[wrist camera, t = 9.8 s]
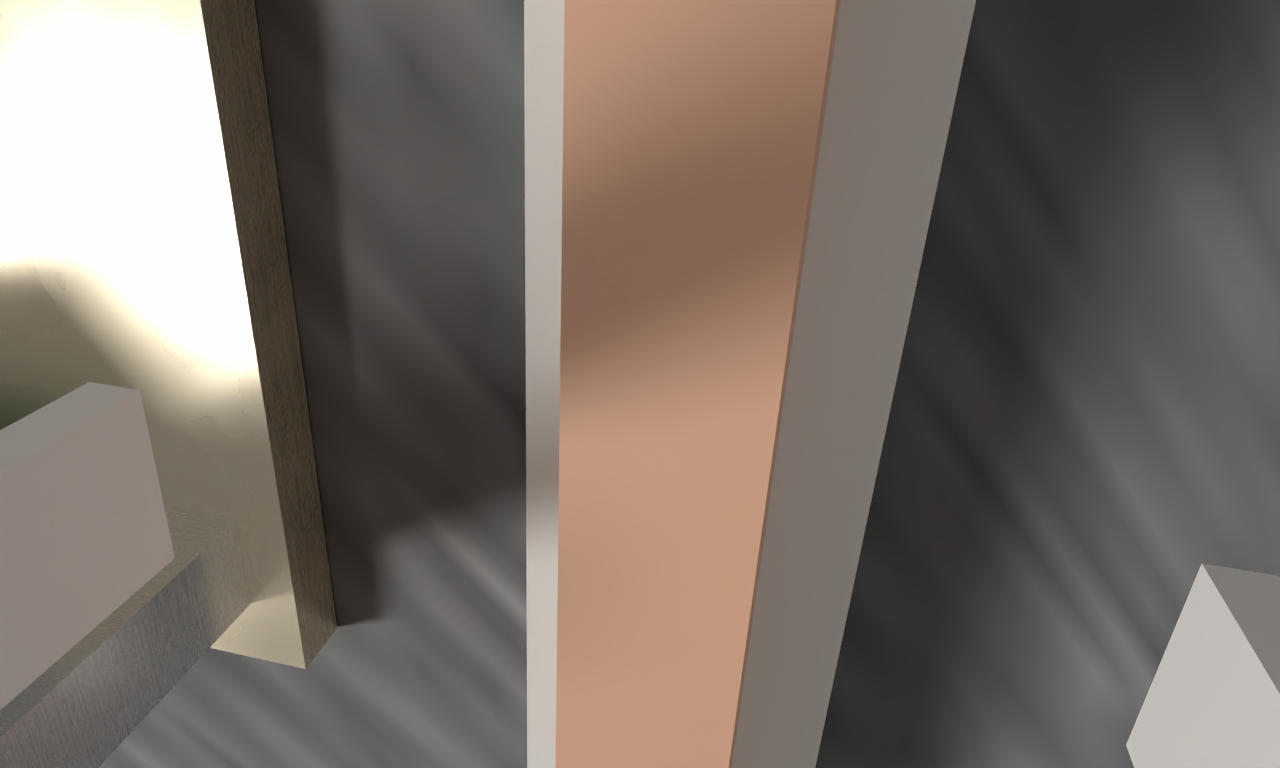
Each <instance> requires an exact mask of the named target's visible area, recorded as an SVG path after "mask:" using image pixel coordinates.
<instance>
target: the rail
mask: <svg viewBox="0 0 1280 768" xmlns="http://www.w3.org/2000/svg"><path fill="white" fill-rule="evenodd" d="M840 4H841V0H565V7H564V92H563V176H562V260H561V344H560V429H559V513H558V597H557V681H556V766H555V768H732V762H733V755H734V748H735V741H736V734H737V727H738V720H739V713H740V706H741V699H742V692H743V685H744V678H745V671H746V664H747V657H748V650H749V643H750V636H751V629H752V622H753V615H754V608H755V600H756V593H757V586H758V579H759V572H760V565H761V558H762V551H763V544H764V537H765V530H766V523H767V516H768V509H769V502H770V495H771V488H772V481H773V474H774V467H775V460H776V453H777V446H778V439H779V432H780V425H781V418H782V411H783V404H784V397H785V390H786V383H787V376H788V369H789V362H790V355H791V348H792V341H793V334H794V327H795V320H796V313H797V306H798V299H799V292H800V285H801V278H802V271H803V264H804V257H805V250H806V242H807V235H808V228H809V221H810V214H811V207H812V200H813V193H814V186H815V179H816V172H817V165H818V158H819V151H820V144H821V137H822V130H823V123H824V116H825V109H826V102H827V95H828V88H829V81H830V74H831V67H832V60H833V53H834V46H835V39H836V32H837V25H838V18H839V11H840Z"/></svg>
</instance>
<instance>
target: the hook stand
mask: <svg viewBox="0 0 1280 768" xmlns="http://www.w3.org/2000/svg"><path fill="white" fill-rule="evenodd" d="M88 382H94V383H100V384H106V385H112V386H118V387H124V388H130V389H136V390H140V394H141V399H142V404H143V408H144V413H145V418H146V423H147V427H148V432H149V437H150V442H151V446H152V451H153V456H154V461H155V465H156V470H157V475H158V480H159V484H160V489H161V494H162V499H163V503H164V508H165V513H166V518H167V523H168V527H169V532H170V537H171V542H172V546H173V551H174V556H175V558H174V559H173V560H172V561H171V562H170V563H168V564H167V565H166V566H165V567H164V568H163V569H162V570H160V571H159V572H158V573H157V574H156V575H155V576H154V577H152V578H151V579H150V580H149V581H148V582H147V583H146V584H144V585H143V586H142V587H141V588H140V589H139V590H138V591H136V592H135V593H134V594H133V595H132V596H131V597H130V598H128V599H127V600H126V601H125V602H124V603H123V604H121V605H120V606H119V607H118V608H117V609H116V610H115V611H113V612H112V613H111V614H110V615H109V616H108V617H107V618H105V619H104V620H103V621H102V622H101V623H100V624H99V625H97V626H96V627H95V628H94V629H93V630H92V631H91V632H89V633H88V634H87V635H86V636H85V637H84V638H83V639H81V640H80V641H79V642H78V643H77V644H76V645H75V646H73V647H72V648H71V649H70V650H69V651H68V652H67V653H65V654H64V655H63V656H62V657H61V658H60V659H58V660H57V661H56V662H55V663H54V664H53V665H52V666H50V667H49V668H48V669H47V670H46V671H45V672H44V673H42V674H41V675H40V676H39V677H38V678H37V679H36V680H34V681H33V682H32V683H31V684H30V685H29V686H28V687H26V688H25V689H24V690H23V691H22V692H21V693H20V694H18V695H17V696H16V697H15V698H14V699H13V700H12V701H10V702H9V703H8V704H7V705H6V706H5V707H3V708H2V709H1V710H0V768H98V767H99V766H100V765H101V764H102V763H103V762H104V761H105V760H106V759H107V758H108V757H109V756H110V754H111V753H112V752H113V751H114V750H115V749H116V748H117V747H118V746H119V745H120V744H121V743H122V742H123V740H124V739H125V738H126V737H127V736H128V735H129V734H130V733H131V732H132V731H133V730H134V729H135V728H136V726H137V725H138V724H139V723H140V722H141V721H142V720H143V719H144V718H145V717H146V716H147V715H148V714H149V713H150V711H151V710H152V709H153V708H154V707H155V706H156V705H157V704H158V703H159V702H160V701H161V700H162V699H163V697H164V696H165V695H166V694H167V693H168V692H169V691H170V690H171V689H172V688H173V687H174V686H175V685H176V683H177V682H178V681H179V680H180V679H181V678H182V677H183V676H184V675H185V674H186V673H187V672H188V671H189V669H190V668H191V667H192V666H193V665H194V664H195V663H196V662H197V661H198V660H199V659H200V658H201V657H202V656H203V654H204V653H205V652H206V651H207V650H208V649H209V648H213V649H218V650H222V651H227V652H231V653H236V654H240V655H245V656H250V657H254V658H259V659H263V660H268V661H272V662H277V663H281V664H286V665H290V666H295V667H299V668H304V669H306V668H307V666H308V665H309V664H310V663H311V661H312V660H313V659H314V657H315V656H316V655H317V653H318V652H319V651H320V650H321V648H322V647H323V646H324V644H325V643H326V642H327V640H328V639H329V638H330V637H331V635H332V634H333V633H334V631H335V630H336V629H337V624H336V616H335V608H334V601H333V593H332V586H331V578H330V571H329V563H328V555H327V548H326V540H325V533H324V525H323V518H322V510H321V502H320V495H319V487H318V480H317V472H316V465H315V457H314V449H313V442H312V434H311V427H310V419H309V412H308V404H307V396H306V389H305V381H304V374H303V366H302V359H301V351H300V343H299V336H298V328H297V321H296V313H295V305H294V298H293V290H292V283H291V275H290V268H289V260H288V252H287V245H286V237H285V230H284V222H283V215H282V207H281V199H280V192H279V184H278V177H277V169H276V162H275V154H274V146H273V139H272V131H271V124H270V116H269V109H268V101H267V93H266V86H265V78H264V71H263V63H262V56H261V48H260V40H259V33H258V25H257V18H256V10H255V3H254V0H0V430H2V429H3V428H5V427H7V426H9V425H11V424H13V423H14V422H16V421H18V420H20V419H22V418H24V417H26V416H27V415H29V414H31V413H33V412H35V411H37V410H38V409H40V408H42V407H44V406H46V405H48V404H50V403H51V402H53V401H55V400H57V399H59V398H61V397H62V396H64V395H66V394H68V393H70V392H72V391H73V390H75V389H77V388H79V387H81V386H83V385H85V384H86V383H88Z"/></svg>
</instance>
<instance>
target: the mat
mask: <svg viewBox="0 0 1280 768" xmlns="http://www.w3.org/2000/svg"><path fill="white" fill-rule="evenodd" d="M975 3H976V0H841V4H840V11H839V18H838V25H837V32H836V39H835V46H834V53H833V60H832V67H831V74H830V81H829V88H828V95H827V102H826V109H825V116H824V123H823V130H822V137H821V144H820V151H819V158H818V165H817V172H816V179H815V186H814V193H813V200H812V207H811V214H810V221H809V228H808V235H807V242H806V250H805V257H804V264H803V271H802V278H801V285H800V292H799V299H798V306H797V313H796V320H795V327H794V334H793V341H792V348H791V355H790V362H789V369H788V376H787V383H786V390H785V397H784V404H783V411H782V418H781V425H780V432H779V439H778V446H777V453H776V460H775V467H774V474H773V481H772V488H771V495H770V502H769V509H768V516H767V523H766V530H765V537H764V544H763V551H762V558H761V565H760V572H759V579H758V586H757V593H756V600H755V608H754V615H753V622H752V629H751V636H750V643H749V650H748V657H747V664H746V671H745V678H744V685H743V692H742V699H741V706H740V713H739V720H738V727H737V734H736V741H735V748H734V755H733V762H732V768H815V767H816V762H817V757H818V752H819V748H820V743H821V738H822V733H823V729H824V724H825V719H826V714H827V709H828V705H829V700H830V695H831V690H832V686H833V681H834V676H835V671H836V666H837V662H838V657H839V652H840V647H841V643H842V638H843V633H844V628H845V624H846V619H847V614H848V609H849V604H850V600H851V595H852V590H853V585H854V581H855V576H856V571H857V566H858V561H859V557H860V552H861V547H862V542H863V538H864V533H865V528H866V523H867V518H868V514H869V509H870V504H871V499H872V495H873V490H874V485H875V480H876V476H877V471H878V466H879V461H880V456H881V452H882V447H883V442H884V437H885V433H886V428H887V423H888V418H889V413H890V409H891V404H892V399H893V394H894V390H895V385H896V380H897V375H898V370H899V366H900V361H901V356H902V351H903V347H904V342H905V337H906V332H907V328H908V323H909V318H910V313H911V308H912V304H913V299H914V294H915V289H916V285H917V280H918V275H919V270H920V265H921V261H922V256H923V251H924V246H925V242H926V237H927V232H928V227H929V222H930V218H931V213H932V208H933V203H934V199H935V194H936V189H937V184H938V180H939V175H940V170H941V165H942V160H943V156H944V151H945V146H946V141H947V137H948V132H949V127H950V122H951V117H952V113H953V108H954V103H955V98H956V94H957V89H958V84H959V79H960V74H961V70H962V65H963V60H964V55H965V51H966V46H967V41H968V36H969V32H970V27H971V22H972V17H973V12H974V8H975ZM564 7H565V0H524V80H525V311H526V541H527V768H555V766H556V681H557V597H558V513H559V429H560V344H561V260H562V176H563V92H564Z"/></svg>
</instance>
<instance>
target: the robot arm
mask: <svg viewBox="0 0 1280 768" xmlns="http://www.w3.org/2000/svg"><path fill="white" fill-rule="evenodd" d="M174 558H175V556H174V551H173V546H172V542H171V537H170V532H169V527H168V523H167V518H166V513H165V508H164V503H163V499H162V494H161V489H160V484H159V480H158V475H157V470H156V465H155V461H154V456H153V451H152V446H151V442H150V437H149V432H148V427H147V423H146V418H145V413H144V408H143V404H142V399H141V394H140V390H136V389H130V388H124V387H118V386H112V385H106V384H100V383H94V382H88V383H86V384H85V385H83V386H81V387H79V388H77V389H75V390H73V391H72V392H70V393H68V394H66V395H64V396H62V397H61V398H59V399H57V400H55V401H53V402H51V403H50V404H48V405H46V406H44V407H42V408H40V409H38V410H37V411H35V412H33V413H31V414H29V415H27V416H26V417H24V418H22V419H20V420H18V421H16V422H14V423H13V424H11V425H9V426H7V427H5V428H3V429H2V430H0V710H1V709H2V708H3V707H5V706H6V705H7V704H8V703H9V702H10V701H12V700H13V699H14V698H15V697H16V696H17V695H18V694H20V693H21V692H22V691H23V690H24V689H25V688H26V687H28V686H29V685H30V684H31V683H32V682H33V681H34V680H36V679H37V678H38V677H39V676H40V675H41V674H42V673H44V672H45V671H46V670H47V669H48V668H49V667H50V666H52V665H53V664H54V663H55V662H56V661H57V660H58V659H60V658H61V657H62V656H63V655H64V654H65V653H67V652H68V651H69V650H70V649H71V648H72V647H73V646H75V645H76V644H77V643H78V642H79V641H80V640H81V639H83V638H84V637H85V636H86V635H87V634H88V633H89V632H91V631H92V630H93V629H94V628H95V627H96V626H97V625H99V624H100V623H101V622H102V621H103V620H104V619H105V618H107V617H108V616H109V615H110V614H111V613H112V612H113V611H115V610H116V609H117V608H118V607H119V606H120V605H121V604H123V603H124V602H125V601H126V600H127V599H128V598H130V597H131V596H132V595H133V594H134V593H135V592H136V591H138V590H139V589H140V588H141V587H142V586H143V585H144V584H146V583H147V582H148V581H149V580H150V579H151V578H152V577H154V576H155V575H156V574H157V573H158V572H159V571H160V570H162V569H163V568H164V567H165V566H166V565H167V564H168V563H170V562H171V561H172V560H173V559H174ZM1126 746H1127V749H1128V752H1129V754H1130V757H1131V760H1132V763H1133V766H1134V768H1280V577H1279V576H1275V575H1269V574H1263V573H1257V572H1251V571H1245V570H1239V569H1232V568H1226V567H1220V566H1214V565H1208V564H1201V567H1200V569H1199V571H1198V574H1197V576H1196V579H1195V581H1194V583H1193V586H1192V588H1191V591H1190V593H1189V595H1188V598H1187V600H1186V603H1185V605H1184V607H1183V610H1182V612H1181V615H1180V617H1179V619H1178V622H1177V624H1176V627H1175V629H1174V631H1173V634H1172V636H1171V639H1170V641H1169V643H1168V646H1167V648H1166V651H1165V653H1164V655H1163V658H1162V660H1161V663H1160V665H1159V667H1158V670H1157V672H1156V675H1155V677H1154V680H1153V682H1152V684H1151V687H1150V689H1149V692H1148V694H1147V696H1146V699H1145V701H1144V704H1143V706H1142V708H1141V711H1140V713H1139V716H1138V718H1137V720H1136V723H1135V725H1134V728H1133V730H1132V732H1131V735H1130V737H1129V740H1128V742H1127V744H1126Z"/></svg>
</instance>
